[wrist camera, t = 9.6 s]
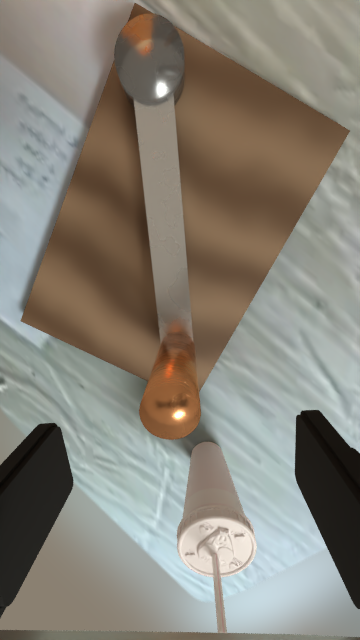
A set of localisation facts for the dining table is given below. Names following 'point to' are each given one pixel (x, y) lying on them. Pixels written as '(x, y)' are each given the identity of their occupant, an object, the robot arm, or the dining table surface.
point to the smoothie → (214, 523)
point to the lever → (162, 217)
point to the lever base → (198, 212)
